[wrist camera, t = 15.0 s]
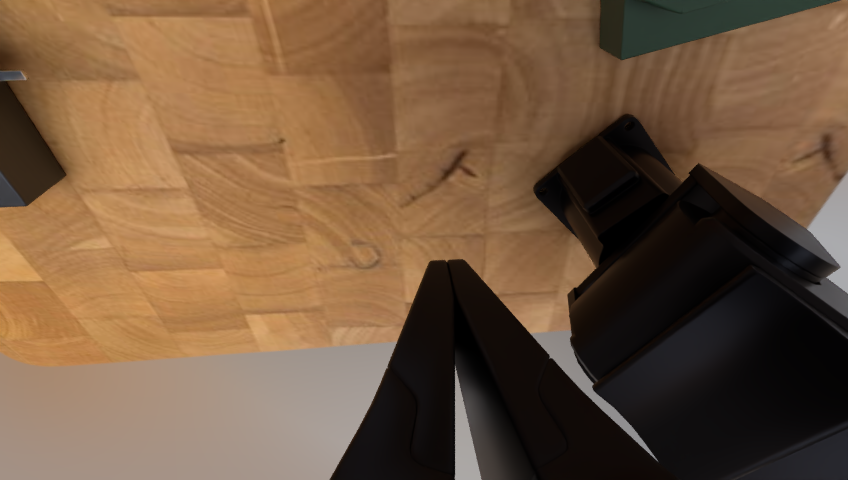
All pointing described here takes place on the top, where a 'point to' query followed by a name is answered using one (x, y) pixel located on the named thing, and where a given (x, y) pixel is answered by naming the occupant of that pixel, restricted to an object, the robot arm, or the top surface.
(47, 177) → the tap plate
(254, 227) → the top surface
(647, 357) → the robot arm
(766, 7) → the button base
